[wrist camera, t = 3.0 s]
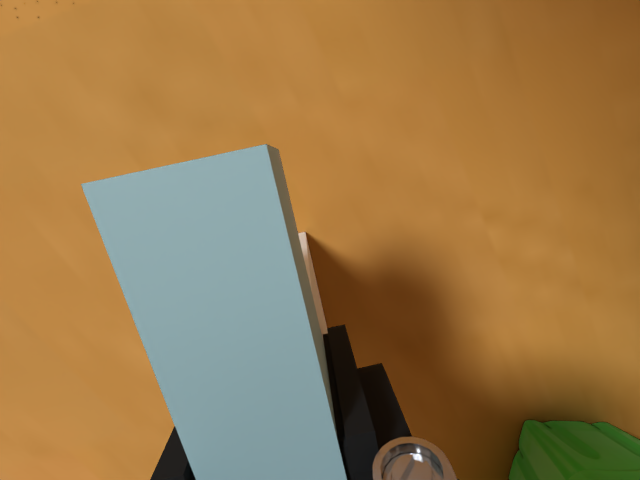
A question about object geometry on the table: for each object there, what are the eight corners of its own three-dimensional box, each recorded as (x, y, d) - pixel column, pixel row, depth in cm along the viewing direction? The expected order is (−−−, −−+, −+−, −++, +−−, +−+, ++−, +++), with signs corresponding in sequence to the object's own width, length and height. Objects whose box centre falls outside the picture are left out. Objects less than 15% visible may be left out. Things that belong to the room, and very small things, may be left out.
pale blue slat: (229, 165, 14) (81, 184, 4) (287, 153, 14) (265, 143, 4) (297, 415, 17) (298, 743, 8) (344, 405, 17) (404, 717, 8)
